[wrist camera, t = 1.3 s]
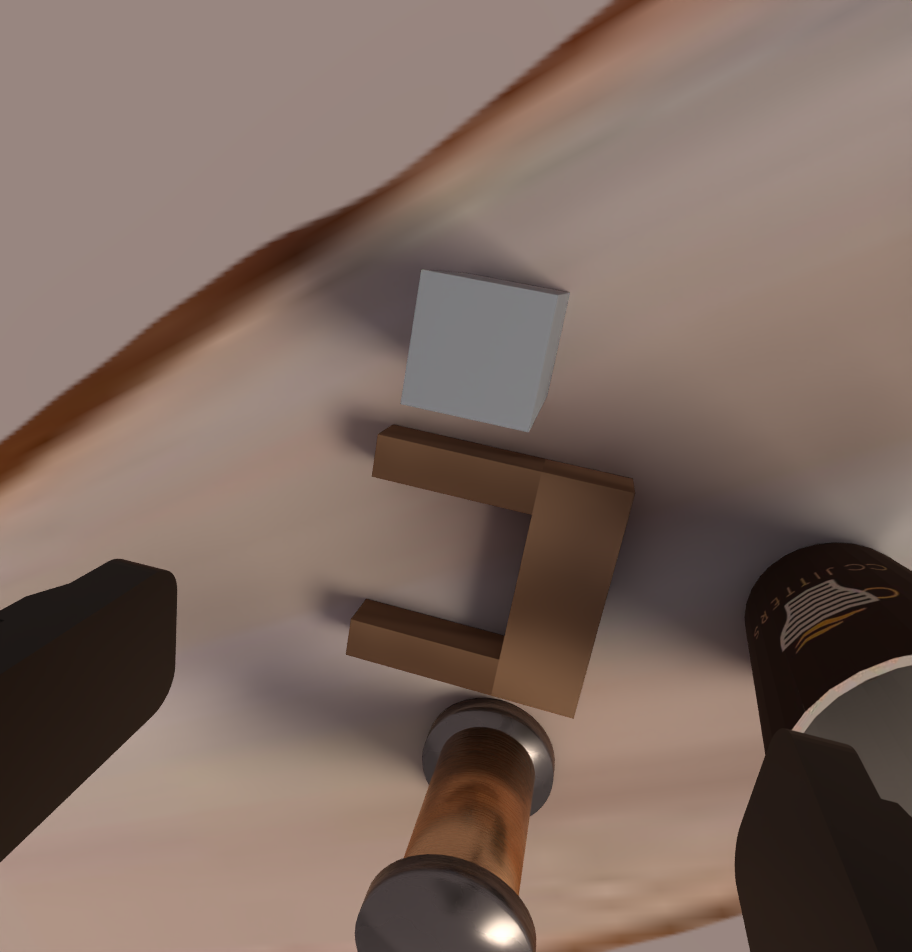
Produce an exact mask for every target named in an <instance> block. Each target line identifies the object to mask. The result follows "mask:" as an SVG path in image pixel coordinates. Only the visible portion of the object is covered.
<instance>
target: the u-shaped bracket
mask: <svg viewBox="0 0 912 952" xmlns="http://www.w3.org/2000/svg"><path fill="white" fill-rule="evenodd" d="M372 477H376V478H380V479H384V480H388V481H393V482H397V483H401V484H405V485H409V486H414V487H418V488H422V489H426V490H430V491H434V492H439V493H443V494H447V495H451V496H455V497H460V498H464V499H468V500H472V501H476V502H480V503H485V504H489V505H493V506H497V507H501V508H505V509H510V510H514V511H518V512H522V513H526V514H531V515H532V517H531V521H530V526H529V530H528V535H527V539H526V544H525V548H524V552H523V557H522V561H521V566H520V570H519V574H518V579H517V583H516V588H515V592H514V597H513V601H512V605H511V610H510V614H509V619H508V623H507V628H506V632H505V636H503V635H500V634H496V633H492V632H488V631H485V630H481V629H477V628H473V627H470V626H466V625H462V624H458V623H455V622H451V621H447V620H443V619H440V618H436V617H432V616H429V615H425V614H421V613H417V612H414V611H410V610H406V609H402V608H399V607H395V606H391V605H387V604H384V603H380V602H376V601H372V600H369V599H366V600H365V601H364V603H363V604H362V605H361V607H360V608H359V609H358V611H357V612H356V613H355V615H354V616H353V617H352V619H351V622H350V629H349V636H348V643H347V650H346V655H349V656H353V657H356V658H360V659H363V660H367V661H370V662H374V663H378V664H381V665H385V666H388V667H392V668H395V669H399V670H402V671H406V672H410V673H413V674H417V675H420V676H424V677H427V678H431V679H434V680H438V681H442V682H445V683H449V684H452V685H456V686H459V687H463V688H466V689H470V690H474V691H477V692H481V693H484V694H488V695H491V696H495V697H498V698H502V699H505V700H509V701H513V702H516V703H520V704H523V705H527V706H530V707H534V708H537V709H541V710H545V711H548V712H552V713H555V714H559V715H562V716H566V717H569V718H573V719H574V715H575V711H576V708H577V704H578V700H579V697H580V693H581V689H582V686H583V682H584V678H585V675H586V671H587V667H588V664H589V660H590V656H591V653H592V649H593V645H594V642H595V638H596V634H597V631H598V627H599V623H600V620H601V616H602V612H603V609H604V605H605V601H606V598H607V594H608V590H609V587H610V583H611V579H612V576H613V572H614V568H615V565H616V561H617V558H618V554H619V550H620V547H621V543H622V539H623V536H624V532H625V528H626V525H627V521H628V517H629V514H630V510H631V506H632V503H633V499H634V495H635V490H634V483H633V479H632V478H627V477H623V476H618V475H614V474H610V473H605V472H601V471H596V470H592V469H588V468H583V467H579V466H574V465H570V464H565V463H561V462H557V461H552V460H548V459H543V458H539V457H535V456H530V455H526V454H521V453H517V452H512V451H508V450H504V449H499V448H495V447H490V446H486V445H482V444H477V443H473V442H468V441H464V440H459V439H455V438H451V437H446V436H442V435H437V434H433V433H429V432H424V431H420V430H415V429H411V428H406V427H402V426H398V425H391V426H390V427H388V428H387V429H385V430H384V431H382V432H381V433H379V434H378V437H377V444H376V451H375V458H374V465H373V472H372Z"/></svg>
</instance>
